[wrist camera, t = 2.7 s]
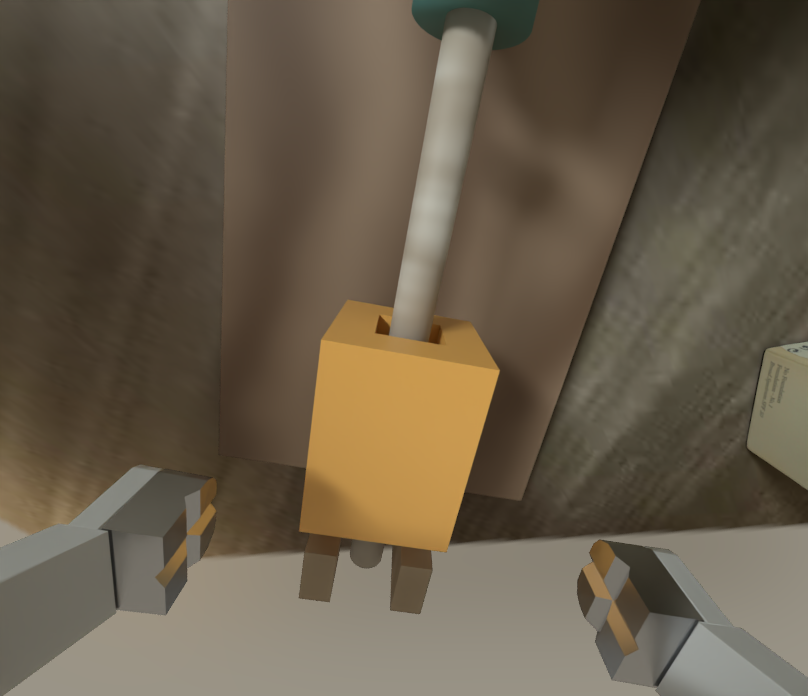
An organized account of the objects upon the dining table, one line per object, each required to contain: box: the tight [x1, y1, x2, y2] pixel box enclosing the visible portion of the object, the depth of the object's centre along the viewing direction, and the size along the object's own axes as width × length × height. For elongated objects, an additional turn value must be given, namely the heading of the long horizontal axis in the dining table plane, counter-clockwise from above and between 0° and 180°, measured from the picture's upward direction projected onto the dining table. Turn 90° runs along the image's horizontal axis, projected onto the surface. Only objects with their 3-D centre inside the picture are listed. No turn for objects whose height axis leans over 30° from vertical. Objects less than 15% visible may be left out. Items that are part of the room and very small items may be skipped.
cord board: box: [219, 0, 701, 614], centre depth 13 cm, size 16×24×9 cm, turn 170°
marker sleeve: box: [299, 300, 500, 552], centre depth 12 cm, size 4×6×4 cm
